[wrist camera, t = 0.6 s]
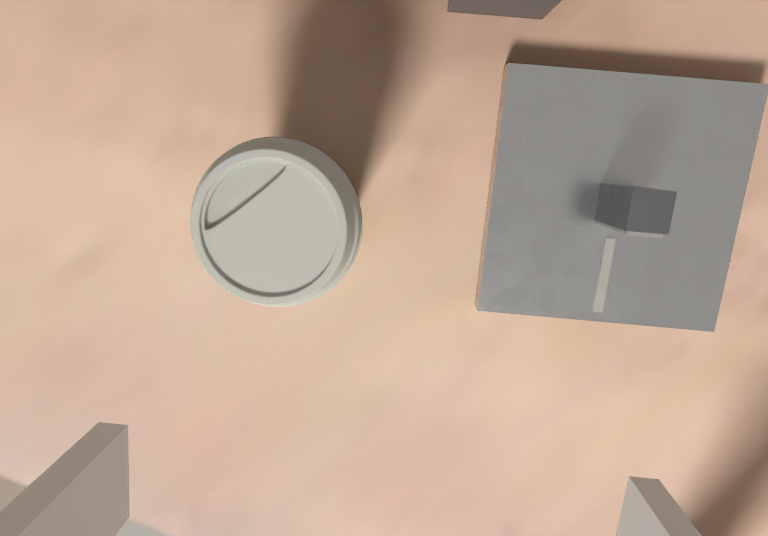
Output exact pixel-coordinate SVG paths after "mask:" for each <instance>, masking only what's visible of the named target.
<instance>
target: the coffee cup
mask: <svg viewBox="0 0 768 536" xmlns="http://www.w3.org/2000/svg"><path fill="white" fill-rule="evenodd" d="M190 225H191V235H192V240H193V244H194V248H195V250H196V253H197V256H198V258H199V260H200V261H201V263H202V265H203V267H204V268H205V270H206V271H207V272H208V274H209V275H210V276H211V277H212V278H213V279H214V280H215V281H216V282H217V283H218V284H219V285H220V286H221V287H222V288H224V289H225V290H227V291H228V292H230V293H231V294H233V295H235V296H237V297H239V298H241V299H243V300H246V301H249V302H251V303H254V304H258V305H263V306H269V307H289V306H295V305H299V304H303V303H306V302H309V301H311V300H313V299H316V298H318V297H320V296H322V295H323V294H325V293H327V292H328V291H329V290H331V289H332V288H333V287H335V286H336V285H337V284H338V283H339V282H340V281H341V280H342V279H343V277H344V276H345V275H346V274H347V272H348V271H349V269H350V268H351V266H352V264H353V262H354V260H355V258H356V256H357V253H358V250H359V247H360V242H361V237H362V214H361V208H360V204H359V200H358V197H357V194H356V192H355V189H354V187H353V185H352V183H351V182H350V180H349V178H348V177H347V175H346V174H345V173H344V171H343V170H342V169H341V168H340V166H339V165H338V164H337V163H336V162H335V161H334V160H333V159H331V158H330V157H329V156H328V155H326V154H325V153H324V152H322V151H321V150H319V149H317V148H316V147H314V146H312V145H310V144H307V143H305V142H302V141H299V140H295V139H291V138H285V137H263V138H257V139H253V140H250V141H247V142H244V143H242V144H239V145H237V146H235V147H234V148H232V149H230V150H229V151H227V152H226V153H224V154H223V155H222V156H220V157H219V158H218V159H217V160H216V161H215V162H214V163H213V164H212V165H211V166H210V167H209V168H208V170H207V171H206V173H205V174H204V175H203V177H202V179H201V181H200V182H199V185H198V187H197V189H196V192H195V195H194V199H193V203H192V210H191V222H190Z"/></svg>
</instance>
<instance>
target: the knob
mask: <svg viewBox="0 0 768 536" xmlns="http://www.w3.org/2000/svg"><path fill="white" fill-rule="evenodd" d="M560 1H561V0H449V1H448V11H447V12H458V13H470V14H483V15H495V16H507V17H520V18H532V19H543V18H544V17H545V16H546V15H547V14H548V13H549V12H550V11H551V10H552V9H553V8H554V7H555V6H556V5H557V4H558V3H559V2H560Z"/></svg>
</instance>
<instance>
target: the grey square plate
mask: <svg viewBox="0 0 768 536" xmlns="http://www.w3.org/2000/svg"><path fill="white" fill-rule="evenodd" d="M767 94H768V84H761V83H749V82H737V81H725V80H713V79H700V78H688V77H676V76H664V75H652V74H640V73H627V72H615V71H603V70H591V69H579V68H567V67H555V66H542V65H530V64H518V63H508V64H507V65H506V66H504V73H503V81H502V89H501V97H500V105H499V113H498V121H497V129H496V137H495V145H494V153H493V161H492V169H491V178H490V186H489V194H488V202H487V210H486V218H485V226H484V234H483V242H482V250H481V258H480V266H479V274H478V283H477V291H476V299H475V306H476V308H477V310H478V311H487V312H499V313H510V314H521V315H532V316H543V317H554V318H566V319H577V320H588V321H599V322H610V323H621V324H633V325H644V326H655V327H666V328H677V329H688V330H700V331H711V332H714V329H715V325H716V320H717V316H718V312H719V307H720V303H721V298H722V294H723V289H724V285H725V280H726V276H727V272H728V267H729V263H730V258H731V254H732V249H733V245H734V240H735V236H736V231H737V227H738V223H739V218H740V214H741V209H742V205H743V200H744V196H745V191H746V187H747V183H748V178H749V174H750V169H751V165H752V160H753V156H754V151H755V147H756V143H757V138H758V134H759V129H760V125H761V120H762V116H763V111H764V107H765V103H766V98H767Z"/></svg>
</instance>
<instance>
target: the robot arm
mask: <svg viewBox="0 0 768 536" xmlns="http://www.w3.org/2000/svg"><path fill="white" fill-rule="evenodd" d="M128 517H129V464H128V425H121V424H111V423H102V422H99V423H98V424H96V425H95V426H94V427H93V428H92V429H91V430H90V431H89V432H88V433H87V434H85V435H84V436H83V437H82V438H81V439H80V440H79V441H78V442H77V443H76V444H74V445H73V446H72V447H71V448H70V449H69V450H68V451H67V452H66V453H65V454H63V455H62V456H61V457H60V458H59V459H58V460H57V461H56V462H55V463H53V464H52V465H51V466H50V467H49V468H48V469H47V470H46V471H45V472H44V473H42V474H41V475H40V476H39V477H38V478H37V479H36V480H35V481H34V482H33V483H31V484H30V485H29V486H28V487H27V488H26V489H25V490H24V491H23V492H22V493H20V494H19V495H18V496H17V497H16V498H15V499H14V500H13V501H12V502H11V503H9V504H8V505H7V506H6V507H5V508H4V509H3V510H2V511H1V512H0V536H115V535H116V534H117V532H118V531H119V529H120V528H121V527H122V526H123V524H124V523H125V522H126V520H127V519H128ZM616 536H702V535H701V534H700V533H699V531H698V530H697V529H696V527H695V526H694V525H693V524H692V522H691V521H690V520H689V518H688V517H687V516H686V514H685V513H684V512H683V510H682V509H681V508H680V507H679V505H678V504H677V503H676V501H675V500H674V499H673V497H672V496H671V495H670V494H669V492H668V491H667V490H666V488H665V487H664V486H663V484H662V483H661V482H660V481H659V479H649V478H639V477H630V476H629V479H628V483H627V488H626V492H625V497H624V501H623V506H622V511H621V515H620V520H619V524H618V529H617V533H616Z"/></svg>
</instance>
